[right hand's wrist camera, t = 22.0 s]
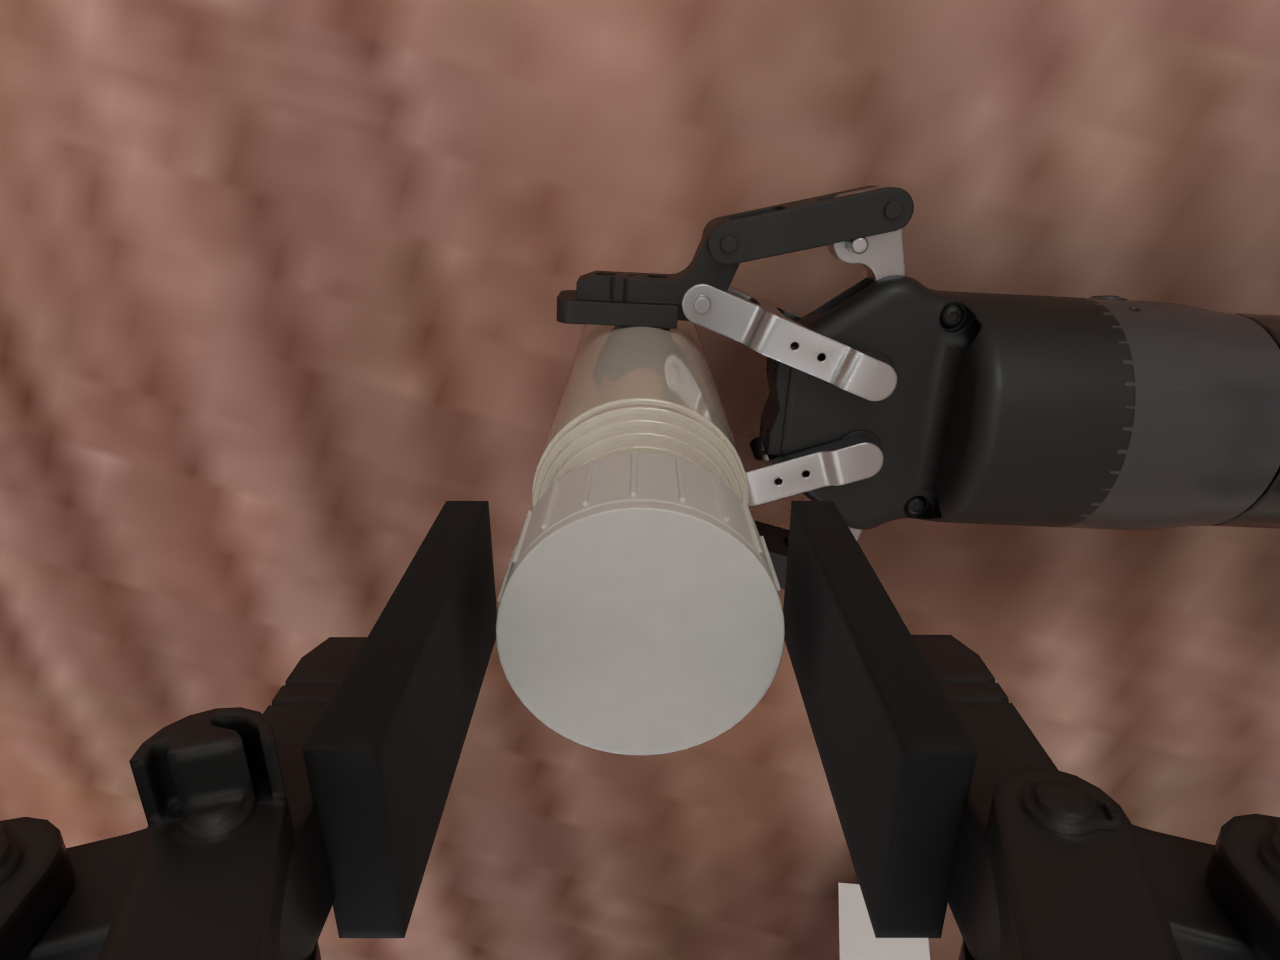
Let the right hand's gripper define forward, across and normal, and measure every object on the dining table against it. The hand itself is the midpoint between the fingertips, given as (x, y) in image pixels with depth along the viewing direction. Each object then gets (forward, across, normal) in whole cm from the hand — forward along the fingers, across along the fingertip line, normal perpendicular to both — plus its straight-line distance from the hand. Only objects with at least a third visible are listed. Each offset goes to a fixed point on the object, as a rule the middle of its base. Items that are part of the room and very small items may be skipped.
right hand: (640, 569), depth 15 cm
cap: (-2, 0, 0) cm, 2 cm away
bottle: (+18, 0, 0) cm, 18 cm away
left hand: (+12, -3, 0) cm, 12 cm away
